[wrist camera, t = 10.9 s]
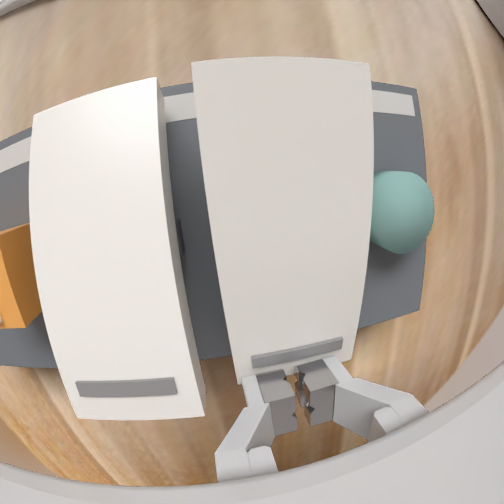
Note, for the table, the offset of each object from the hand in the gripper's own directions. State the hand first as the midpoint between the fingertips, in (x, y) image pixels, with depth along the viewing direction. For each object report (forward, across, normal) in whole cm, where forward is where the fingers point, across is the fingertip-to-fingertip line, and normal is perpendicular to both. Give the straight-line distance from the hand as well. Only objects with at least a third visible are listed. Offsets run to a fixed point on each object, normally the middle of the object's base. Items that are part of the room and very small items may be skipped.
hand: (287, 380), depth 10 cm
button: (+2, -6, -5) cm, 8 cm away
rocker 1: (+1, +5, -5) cm, 7 cm away
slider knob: (+3, +10, -6) cm, 12 cm away
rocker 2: (+1, 0, -5) cm, 5 cm away
